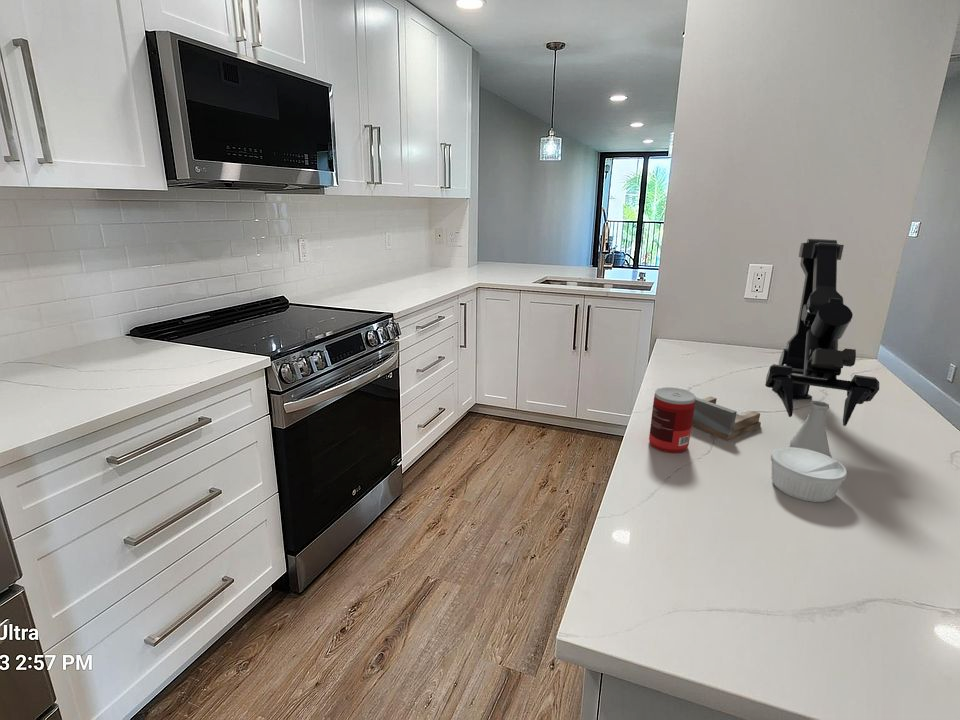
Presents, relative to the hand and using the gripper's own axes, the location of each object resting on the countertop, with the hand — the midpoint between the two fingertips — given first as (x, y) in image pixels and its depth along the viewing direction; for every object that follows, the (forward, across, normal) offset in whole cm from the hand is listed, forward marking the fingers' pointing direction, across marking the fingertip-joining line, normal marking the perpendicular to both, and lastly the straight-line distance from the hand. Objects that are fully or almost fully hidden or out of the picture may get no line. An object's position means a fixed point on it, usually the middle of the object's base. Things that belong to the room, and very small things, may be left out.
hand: (817, 420), depth 104 cm
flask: (+4, 0, +6) cm, 7 cm away
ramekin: (+17, -3, -7) cm, 19 cm away
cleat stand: (0, -18, +10) cm, 20 cm away
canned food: (+12, -26, -2) cm, 29 cm away
